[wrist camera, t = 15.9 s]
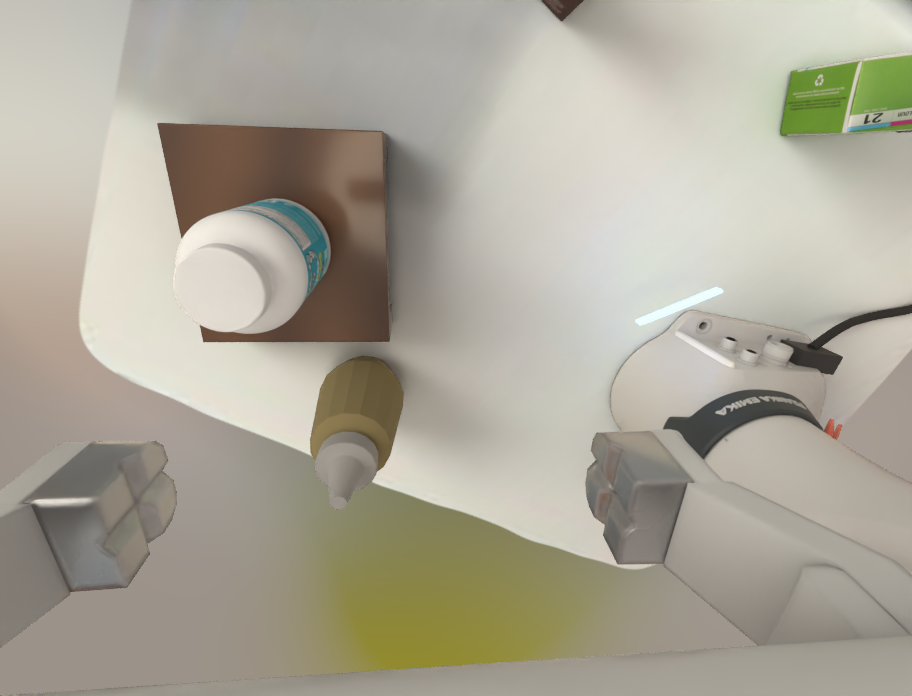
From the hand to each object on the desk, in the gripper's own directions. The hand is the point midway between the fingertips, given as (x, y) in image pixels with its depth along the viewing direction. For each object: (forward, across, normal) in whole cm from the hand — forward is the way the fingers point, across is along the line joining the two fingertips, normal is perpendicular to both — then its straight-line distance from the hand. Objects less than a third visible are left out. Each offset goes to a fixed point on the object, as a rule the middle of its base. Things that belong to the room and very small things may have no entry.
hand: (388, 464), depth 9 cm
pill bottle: (+30, -10, -2) cm, 32 cm away
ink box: (+35, +38, +11) cm, 53 cm away
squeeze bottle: (+35, -5, -16) cm, 39 cm away
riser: (+35, -10, -2) cm, 37 cm away
